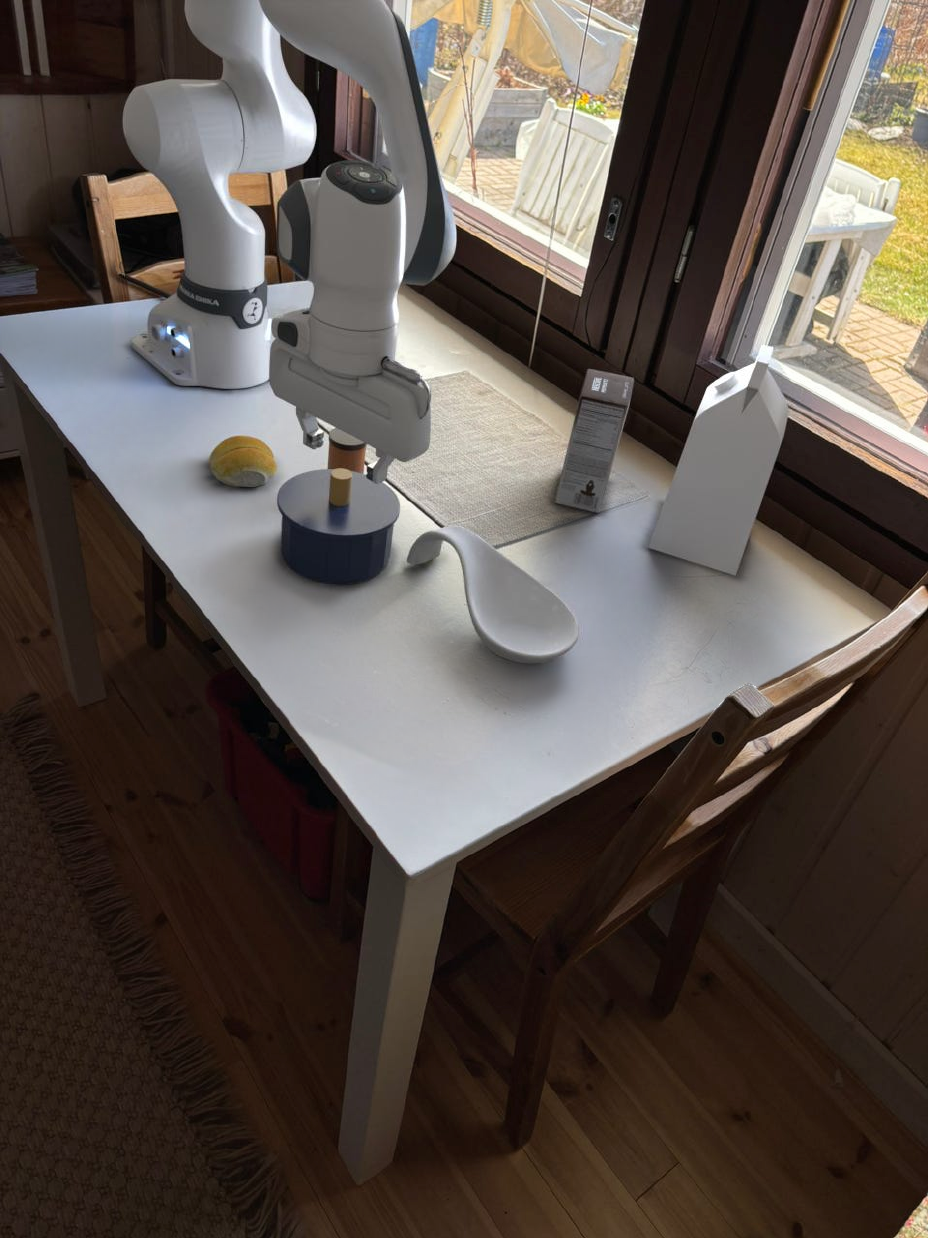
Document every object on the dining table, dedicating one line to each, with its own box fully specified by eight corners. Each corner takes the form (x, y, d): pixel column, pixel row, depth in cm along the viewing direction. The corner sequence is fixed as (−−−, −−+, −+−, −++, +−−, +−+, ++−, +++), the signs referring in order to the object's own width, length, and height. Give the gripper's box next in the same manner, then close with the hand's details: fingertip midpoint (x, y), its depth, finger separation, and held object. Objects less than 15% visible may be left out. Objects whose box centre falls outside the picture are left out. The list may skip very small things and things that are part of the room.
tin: (258, 548, 110) (258, 500, 106) (333, 510, 119) (337, 464, 115) (337, 599, 105) (341, 550, 101) (410, 555, 114) (417, 509, 110)
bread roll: (269, 452, 127) (270, 425, 125) (279, 488, 121) (280, 460, 118) (206, 453, 125) (205, 426, 122) (212, 490, 118) (212, 461, 116)
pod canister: (317, 487, 122) (320, 433, 118) (343, 475, 126) (347, 422, 121) (344, 503, 120) (349, 449, 116) (370, 490, 124) (375, 437, 119)
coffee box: (561, 471, 135) (587, 365, 125) (605, 482, 135) (635, 376, 125) (553, 503, 128) (580, 394, 118) (600, 514, 127) (630, 405, 118)
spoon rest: (593, 656, 104) (609, 605, 100) (515, 695, 97) (529, 642, 93) (456, 546, 117) (464, 496, 112) (378, 573, 110) (384, 522, 105)
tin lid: (250, 504, 106) (251, 467, 103) (336, 465, 116) (339, 430, 113) (340, 559, 101) (344, 522, 98) (423, 514, 110) (428, 479, 107)
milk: (735, 575, 121) (811, 386, 105) (648, 547, 123) (709, 357, 107) (746, 530, 130) (817, 350, 114) (664, 505, 132) (723, 324, 116)
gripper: (452, 370, 94) (435, 491, 102) (303, 302, 102) (299, 419, 110) (411, 387, 89) (397, 512, 98) (259, 314, 98) (258, 435, 106)
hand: (344, 462), depth 104 cm, fingers open, 8 cm apart
